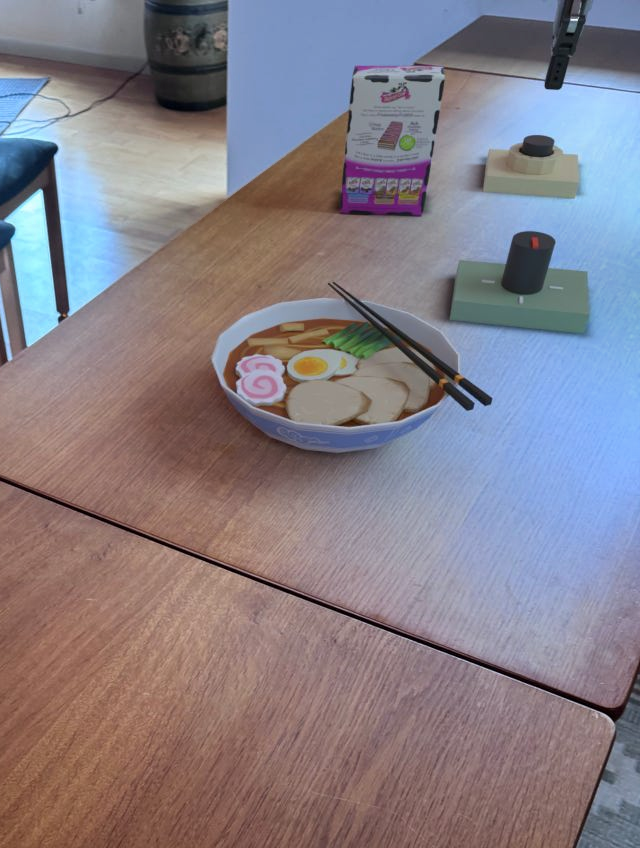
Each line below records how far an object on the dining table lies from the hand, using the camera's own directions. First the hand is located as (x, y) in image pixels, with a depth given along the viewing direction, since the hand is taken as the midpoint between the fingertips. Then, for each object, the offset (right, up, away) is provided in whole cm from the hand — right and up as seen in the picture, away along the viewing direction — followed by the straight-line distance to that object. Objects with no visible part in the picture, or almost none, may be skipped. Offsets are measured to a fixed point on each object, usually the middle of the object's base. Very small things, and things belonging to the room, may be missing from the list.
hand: (552, 87), depth 118 cm
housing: (0, -8, +8) cm, 12 cm away
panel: (-11, -35, -16) cm, 40 cm away
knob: (-11, -33, -18) cm, 39 cm away
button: (0, -6, +6) cm, 8 cm away
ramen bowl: (-35, -51, -29) cm, 69 cm away
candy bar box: (-21, -14, +4) cm, 26 cm away
